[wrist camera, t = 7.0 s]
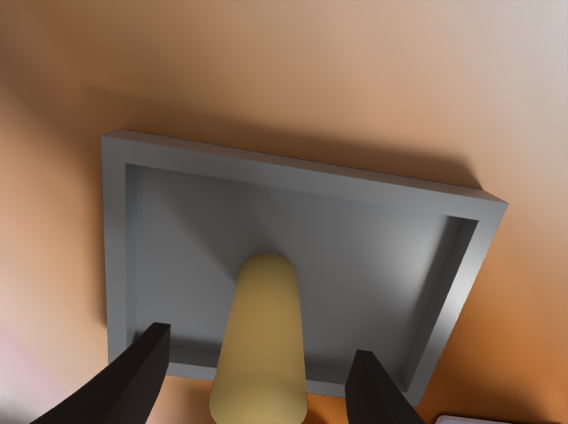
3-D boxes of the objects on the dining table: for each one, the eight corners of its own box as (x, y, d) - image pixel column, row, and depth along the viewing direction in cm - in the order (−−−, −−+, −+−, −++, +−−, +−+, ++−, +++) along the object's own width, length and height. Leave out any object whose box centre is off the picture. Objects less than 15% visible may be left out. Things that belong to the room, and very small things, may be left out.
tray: (483, 189, 17) (508, 203, 15) (406, 378, 21) (417, 407, 20) (122, 129, 16) (100, 135, 14) (124, 341, 20) (108, 367, 18)
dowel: (303, 257, 17) (316, 377, 10) (292, 307, 18) (297, 445, 11) (242, 248, 17) (213, 364, 10) (235, 299, 18) (204, 434, 11)
